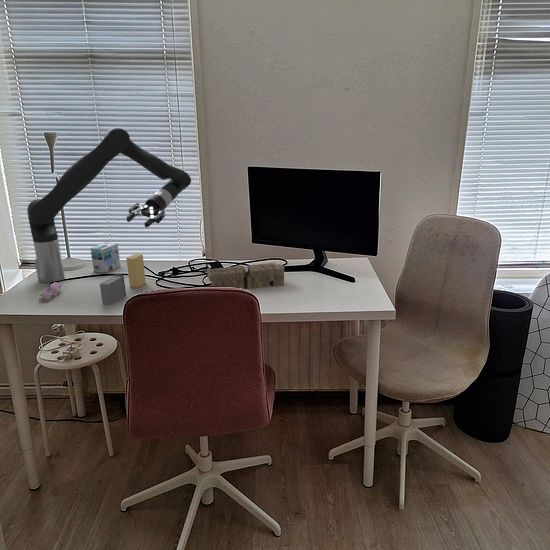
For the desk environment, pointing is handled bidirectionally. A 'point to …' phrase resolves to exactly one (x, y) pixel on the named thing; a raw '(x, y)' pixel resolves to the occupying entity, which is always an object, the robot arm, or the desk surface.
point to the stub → (136, 270)
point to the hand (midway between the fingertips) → (136, 222)
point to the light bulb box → (105, 257)
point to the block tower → (248, 276)
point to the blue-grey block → (113, 289)
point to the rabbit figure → (50, 291)
